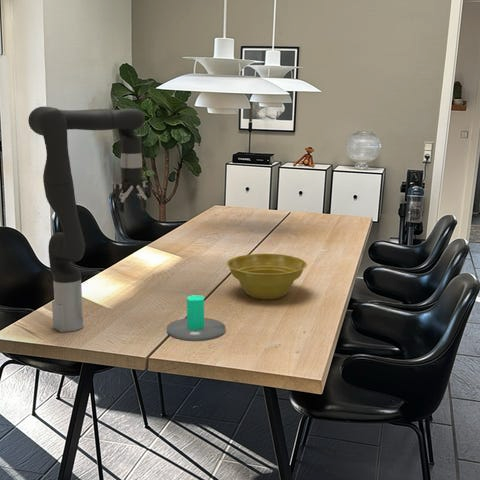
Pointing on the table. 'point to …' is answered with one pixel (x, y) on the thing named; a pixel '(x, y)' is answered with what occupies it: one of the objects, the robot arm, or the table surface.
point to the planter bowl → (266, 273)
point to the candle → (195, 312)
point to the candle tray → (208, 332)
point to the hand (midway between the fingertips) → (132, 211)
